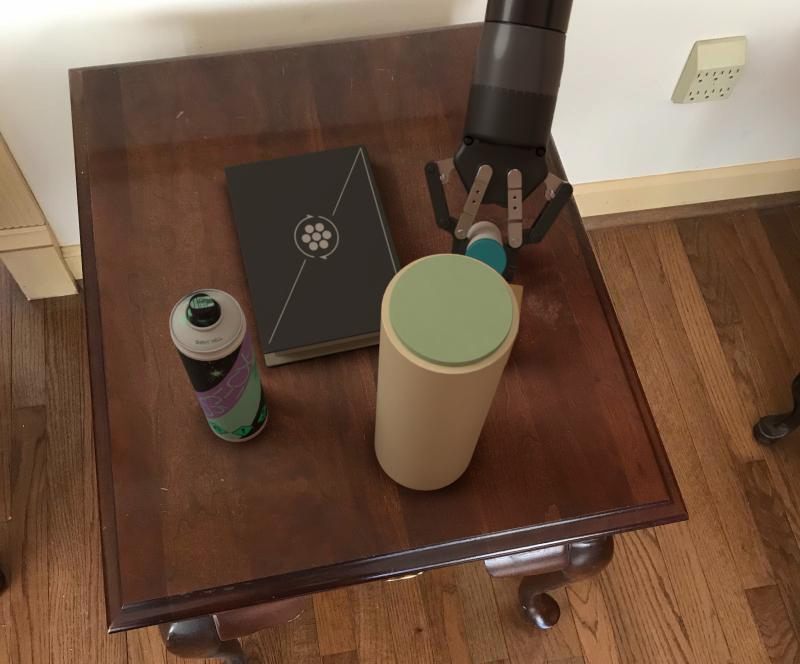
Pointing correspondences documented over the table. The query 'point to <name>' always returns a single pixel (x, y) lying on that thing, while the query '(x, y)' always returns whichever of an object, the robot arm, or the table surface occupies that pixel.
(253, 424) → the spray can
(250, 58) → the table surface
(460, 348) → the pad
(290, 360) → the book
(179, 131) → the table surface
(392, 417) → the pedestal
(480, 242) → the vial
